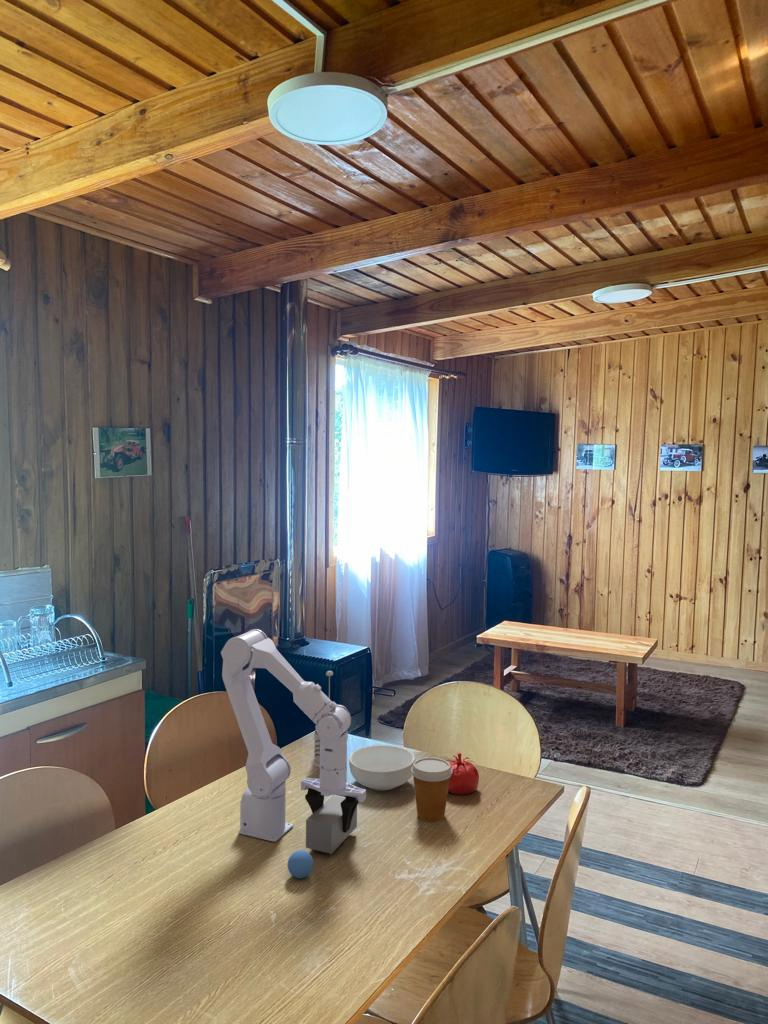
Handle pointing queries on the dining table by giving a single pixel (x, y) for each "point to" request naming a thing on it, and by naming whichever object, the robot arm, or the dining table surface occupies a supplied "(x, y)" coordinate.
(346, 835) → the grey rectangular block
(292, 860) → the ball
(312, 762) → the french press
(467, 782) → the pomegranate
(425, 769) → the disposable coffee cup
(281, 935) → the dining table surface
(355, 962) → the dining table surface
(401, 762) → the cereal bowl
